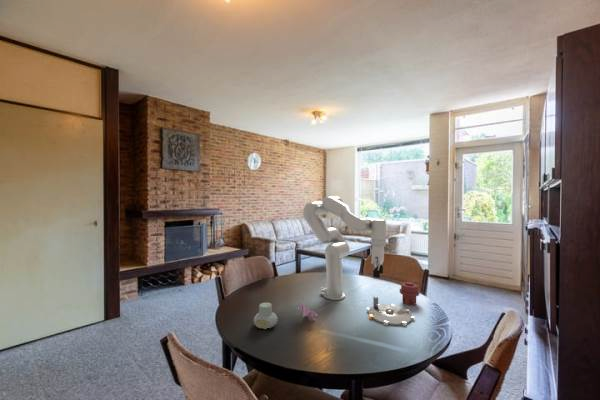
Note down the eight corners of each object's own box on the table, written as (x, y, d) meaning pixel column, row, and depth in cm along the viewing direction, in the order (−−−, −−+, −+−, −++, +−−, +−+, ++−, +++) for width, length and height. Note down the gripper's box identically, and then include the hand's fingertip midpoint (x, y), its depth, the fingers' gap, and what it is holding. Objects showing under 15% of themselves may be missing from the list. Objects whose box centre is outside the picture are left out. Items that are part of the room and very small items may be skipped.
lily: (319, 330, 126) (324, 308, 130) (295, 322, 123) (301, 300, 127) (308, 326, 137) (313, 306, 140) (287, 320, 134) (293, 300, 138)
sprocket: (361, 320, 130) (361, 306, 130) (371, 303, 150) (371, 291, 150) (412, 330, 120) (412, 315, 120) (415, 311, 140) (416, 298, 140)
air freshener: (279, 323, 130) (279, 302, 130) (273, 331, 122) (273, 309, 122) (258, 320, 133) (257, 300, 133) (251, 329, 125) (250, 307, 125)
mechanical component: (417, 302, 155) (421, 309, 145) (398, 301, 157) (401, 308, 147) (417, 280, 154) (421, 286, 145) (398, 279, 156) (401, 285, 147)
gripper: (374, 239, 155) (374, 270, 156) (367, 244, 140) (367, 278, 140) (388, 240, 152) (388, 271, 152) (382, 245, 136) (382, 280, 137)
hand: (378, 275), depth 146 cm, fingers open, 8 cm apart
